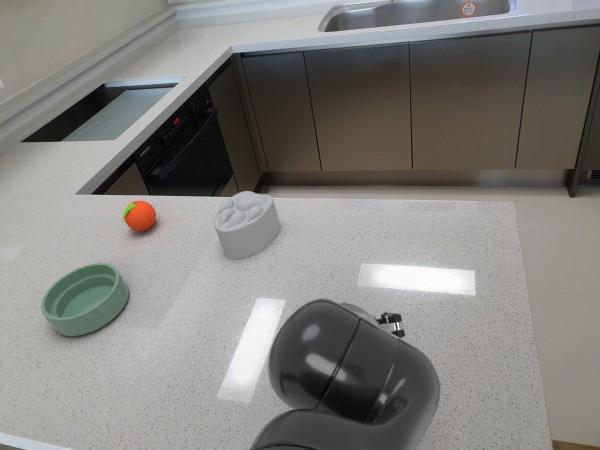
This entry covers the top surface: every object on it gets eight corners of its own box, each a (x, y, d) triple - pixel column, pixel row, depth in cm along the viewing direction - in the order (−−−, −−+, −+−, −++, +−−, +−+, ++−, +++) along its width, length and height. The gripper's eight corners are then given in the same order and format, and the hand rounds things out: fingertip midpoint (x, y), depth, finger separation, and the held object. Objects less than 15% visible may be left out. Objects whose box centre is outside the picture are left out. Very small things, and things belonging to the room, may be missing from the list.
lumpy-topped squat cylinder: (286, 224, 97) (278, 190, 92) (250, 264, 89) (239, 229, 84) (248, 215, 102) (237, 182, 97) (211, 252, 94) (197, 219, 89)
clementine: (141, 243, 101) (128, 217, 97) (121, 236, 105) (108, 211, 101) (166, 221, 106) (155, 196, 102) (147, 216, 110) (135, 191, 105)
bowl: (80, 350, 79) (66, 331, 76) (41, 320, 87) (27, 302, 84) (144, 295, 87) (134, 276, 84) (103, 272, 95) (92, 254, 92)
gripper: (280, 395, 45) (294, 366, 61) (426, 369, 44) (401, 346, 61) (266, 318, 46) (284, 310, 62) (409, 291, 45) (388, 290, 62)
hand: (341, 328), depth 62 cm, fingers closed on cup, 6 cm apart
